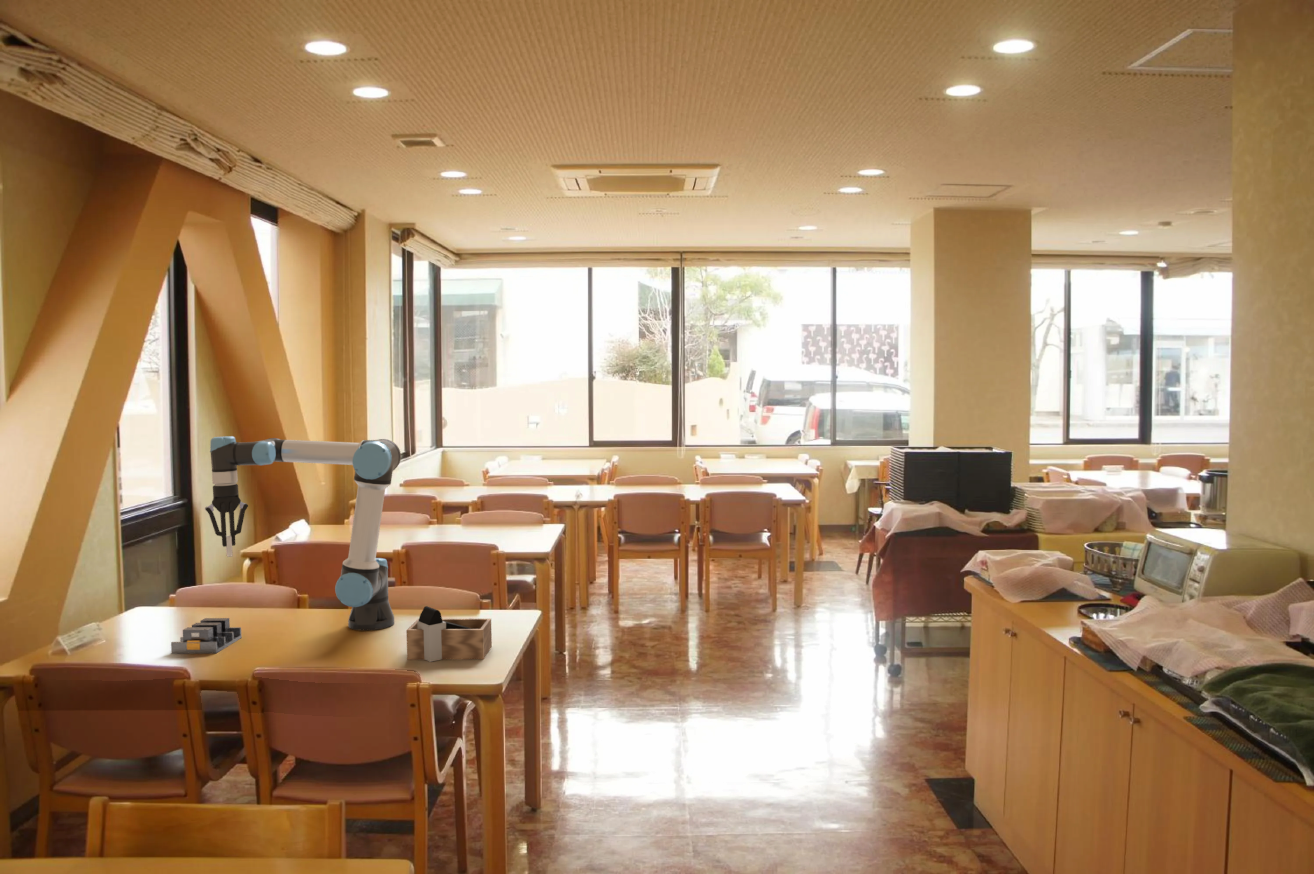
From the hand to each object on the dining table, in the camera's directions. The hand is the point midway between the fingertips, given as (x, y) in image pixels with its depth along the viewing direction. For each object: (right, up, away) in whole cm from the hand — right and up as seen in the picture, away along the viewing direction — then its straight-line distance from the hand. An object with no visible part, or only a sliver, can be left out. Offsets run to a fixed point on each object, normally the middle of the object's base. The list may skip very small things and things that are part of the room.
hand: (229, 555), depth 311 cm
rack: (-4, -28, -7) cm, 29 cm away
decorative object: (+76, -28, -18) cm, 83 cm away
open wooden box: (+76, -28, -18) cm, 83 cm away
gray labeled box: (-4, -27, -13) cm, 30 cm away
